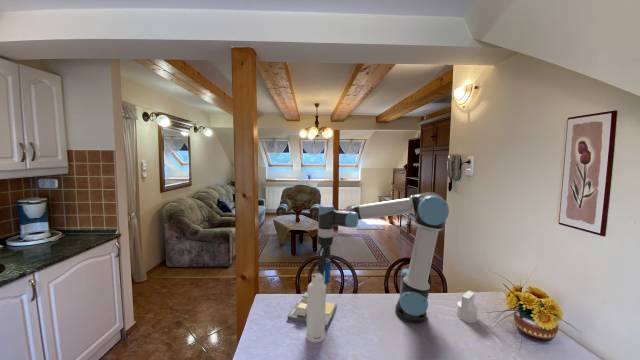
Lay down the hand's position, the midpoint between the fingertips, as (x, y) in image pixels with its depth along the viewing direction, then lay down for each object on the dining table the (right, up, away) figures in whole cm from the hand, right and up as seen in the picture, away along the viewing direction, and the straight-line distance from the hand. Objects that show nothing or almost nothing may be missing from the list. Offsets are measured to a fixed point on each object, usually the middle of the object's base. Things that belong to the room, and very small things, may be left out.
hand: (324, 279), depth 132 cm
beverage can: (0, -2, 0) cm, 2 cm away
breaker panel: (-6, -17, -1) cm, 18 cm away
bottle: (-4, -19, -17) cm, 25 cm away
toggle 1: (-11, -15, -5) cm, 19 cm away
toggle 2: (-9, -14, +5) cm, 17 cm away
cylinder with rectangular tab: (+73, -19, 0) cm, 75 cm away
